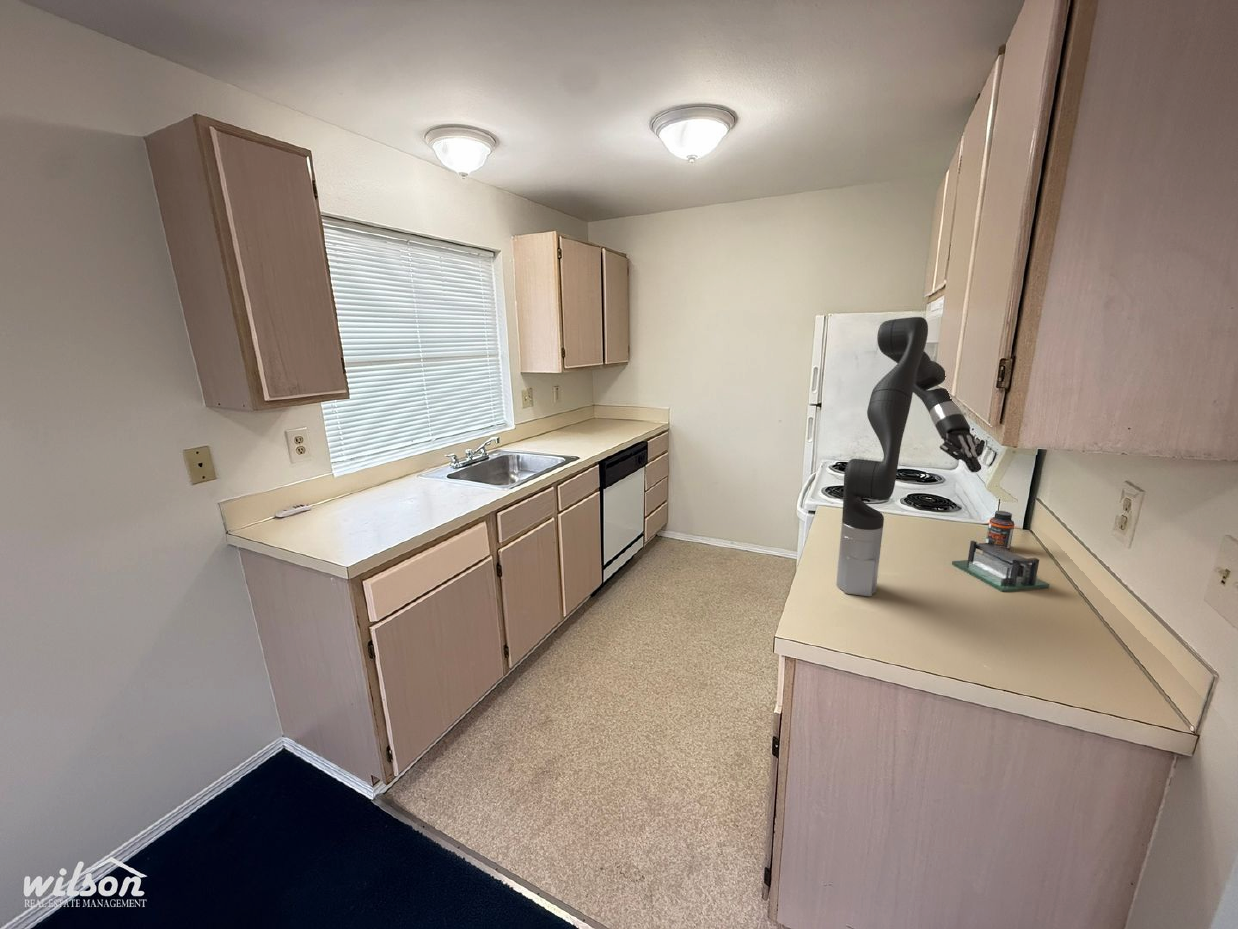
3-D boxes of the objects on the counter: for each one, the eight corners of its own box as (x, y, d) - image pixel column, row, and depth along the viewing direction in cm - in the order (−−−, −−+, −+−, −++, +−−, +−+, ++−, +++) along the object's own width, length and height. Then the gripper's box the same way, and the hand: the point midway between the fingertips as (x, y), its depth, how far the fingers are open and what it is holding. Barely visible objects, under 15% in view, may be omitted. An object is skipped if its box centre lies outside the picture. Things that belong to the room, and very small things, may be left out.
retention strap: (973, 542, 135) (1015, 560, 123) (986, 542, 136) (1029, 559, 123) (973, 547, 135) (1014, 565, 123) (986, 546, 136) (1029, 564, 124)
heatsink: (951, 564, 137) (955, 539, 136) (994, 561, 139) (998, 536, 137) (1001, 591, 122) (1006, 563, 120) (1048, 587, 123) (1054, 559, 122)
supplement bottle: (983, 548, 148) (989, 512, 145) (986, 542, 152) (992, 508, 149) (1008, 553, 144) (1015, 517, 141) (1010, 547, 148) (1017, 512, 145)
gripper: (935, 413, 141) (963, 465, 132) (978, 411, 142) (1008, 462, 133) (920, 429, 147) (946, 479, 138) (961, 427, 149) (989, 476, 140)
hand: (976, 470), depth 136 cm, fingers closed
